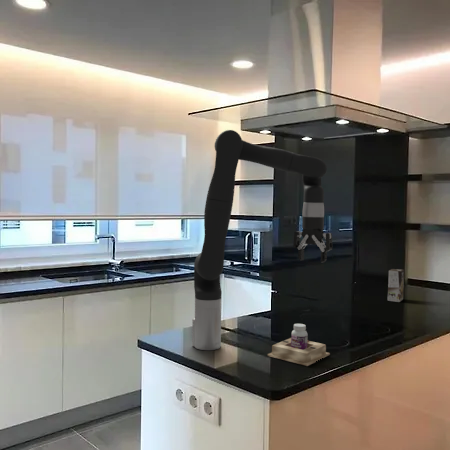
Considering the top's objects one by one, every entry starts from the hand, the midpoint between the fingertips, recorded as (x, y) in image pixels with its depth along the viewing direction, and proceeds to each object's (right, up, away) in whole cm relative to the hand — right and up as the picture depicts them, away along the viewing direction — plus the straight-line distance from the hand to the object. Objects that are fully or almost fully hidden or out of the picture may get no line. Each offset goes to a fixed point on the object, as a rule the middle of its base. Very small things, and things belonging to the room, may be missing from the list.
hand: (312, 261), depth 175 cm
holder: (-6, -31, -10) cm, 33 cm away
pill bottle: (-6, -30, -10) cm, 33 cm away
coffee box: (+59, -27, +86) cm, 108 cm away
